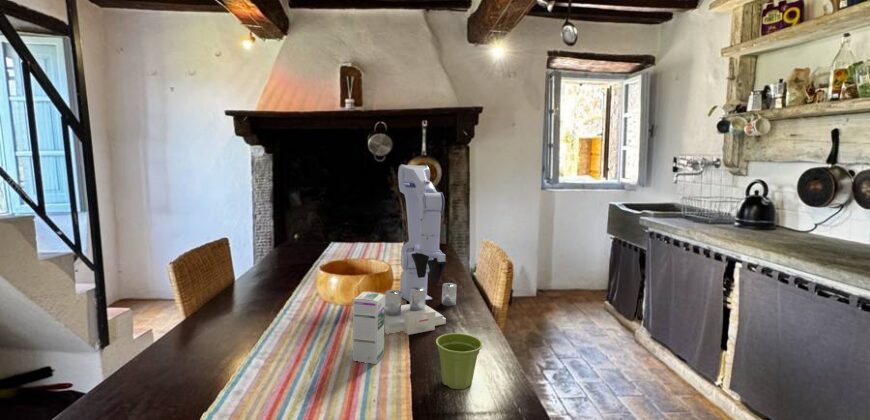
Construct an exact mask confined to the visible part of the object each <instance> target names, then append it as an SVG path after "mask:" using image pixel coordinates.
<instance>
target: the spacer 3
mask: <svg viewBox="0 0 870 420" xmlns="http://www.w3.org/2000/svg"><path fill="white" fill-rule="evenodd" d="M457 287H458V286H457V284H456V283H454V282H453V283H452V282H444V283H443V284H442V292H441V305H442V306H447V307H451V306H456V304H457Z"/></svg>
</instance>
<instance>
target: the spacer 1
mask: <svg viewBox="0 0 870 420" xmlns="http://www.w3.org/2000/svg"><path fill="white" fill-rule="evenodd" d="M384 294H385V315H387V316H399V315H401V305H402V298H403V297H402V292H401V291H400V289H398V290H397V289H388V290H386V291H385V293H384Z"/></svg>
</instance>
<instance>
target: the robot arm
mask: <svg viewBox="0 0 870 420" xmlns="http://www.w3.org/2000/svg"><path fill="white" fill-rule="evenodd" d="M430 178H431V170H430V168H429V166H428V165H412V164H411V165H410V164H408V165H407V164H400V165H399V166H398V172H397V179H398V189H399V192H400V193H402V194H403V195H404V198H405V207H406V219H407V234H408V235H407V237H408V241H407V242H406V243H404V244H403V245H402V247H401V249H400V267H401V269H402V271H401V273H400V281H399V282H400V283H399V291H401V292H402V298H403V299H405V300H406V301H408V302H409V303H410V288H412V287H424V288H426V299H425V301H429V300H433V297H431V296H429V295H428V274H429V280H430V281H429V282H430V285H432V286H435V285H439V283H440V279H441V276H442V274H443V272H444V269H445V267H446V266H447V265H448V261H447V260H446V254H445V253H443V252H442V250H441V249H440V241H441V239H440V236H441V218H442V217H441V216H442V213H444V209H445V196H444V194H443V192H441V191H439V192H438V191H437V190H436V187H435V186H434V184H433V182H432V181H430Z"/></svg>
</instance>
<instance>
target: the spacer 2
mask: <svg viewBox="0 0 870 420" xmlns="http://www.w3.org/2000/svg"><path fill="white" fill-rule="evenodd" d="M425 299H426V288H424V287H412V288H410V302H409V304H410V311H412V312H414V311H420V310H425V305H426V300H425Z"/></svg>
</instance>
